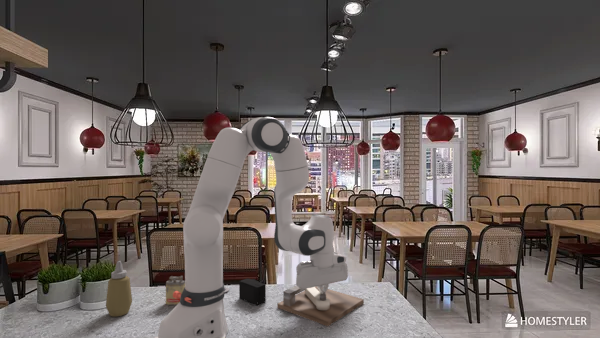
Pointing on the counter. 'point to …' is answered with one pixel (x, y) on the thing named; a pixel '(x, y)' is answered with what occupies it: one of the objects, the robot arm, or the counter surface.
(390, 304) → the counter surface
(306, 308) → the pivot base
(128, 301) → the squeeze bottle
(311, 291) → the link
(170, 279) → the small jar
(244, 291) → the digital camera
